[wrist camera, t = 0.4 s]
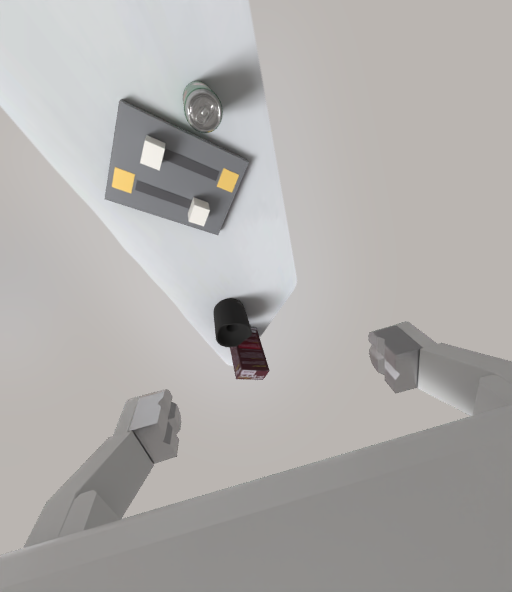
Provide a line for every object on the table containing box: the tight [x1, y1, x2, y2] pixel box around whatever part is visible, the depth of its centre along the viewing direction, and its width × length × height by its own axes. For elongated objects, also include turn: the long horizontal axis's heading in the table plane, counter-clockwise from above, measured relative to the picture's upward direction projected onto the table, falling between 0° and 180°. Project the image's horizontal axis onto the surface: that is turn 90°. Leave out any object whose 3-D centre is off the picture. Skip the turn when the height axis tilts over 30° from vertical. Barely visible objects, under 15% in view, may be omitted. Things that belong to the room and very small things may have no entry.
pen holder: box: [214, 299, 252, 347], centre depth 74 cm, size 9×9×10 cm
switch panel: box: [105, 100, 249, 235], centre depth 50 cm, size 16×22×2 cm
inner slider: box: [140, 135, 165, 171], centre depth 44 cm, size 4×3×4 cm
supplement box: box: [230, 328, 269, 380], centre depth 79 cm, size 9×5×16 cm, turn 67°
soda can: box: [183, 81, 223, 133], centre depth 40 cm, size 5×5×12 cm
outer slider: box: [188, 197, 210, 226], centre depth 52 cm, size 4×3×4 cm
